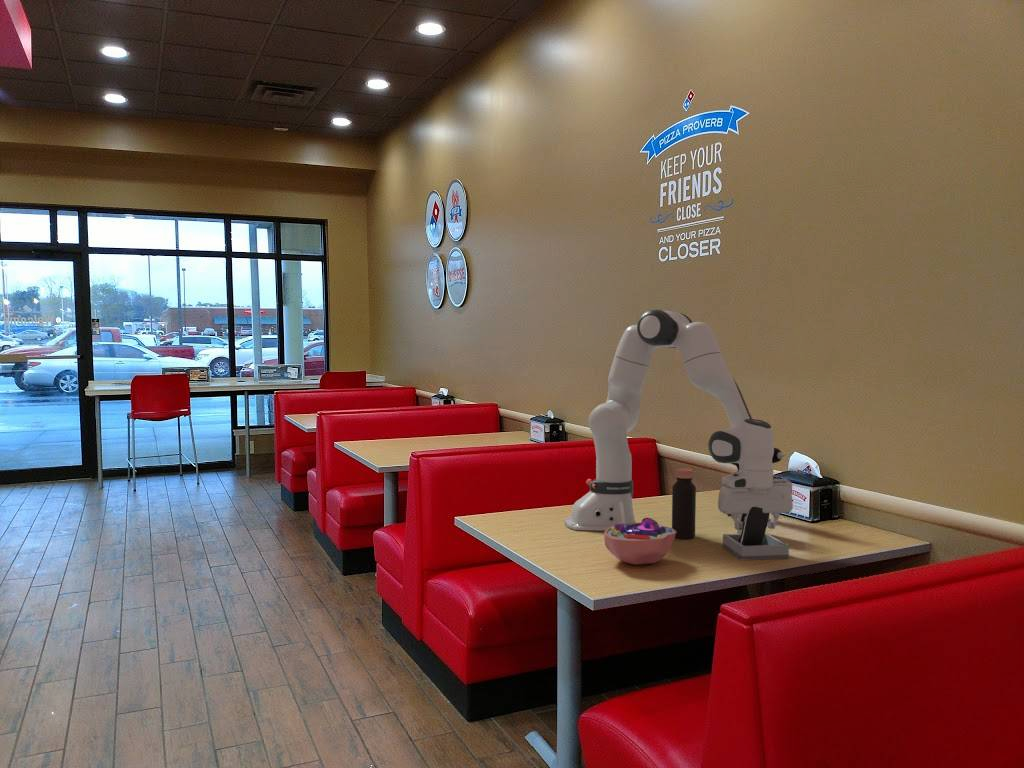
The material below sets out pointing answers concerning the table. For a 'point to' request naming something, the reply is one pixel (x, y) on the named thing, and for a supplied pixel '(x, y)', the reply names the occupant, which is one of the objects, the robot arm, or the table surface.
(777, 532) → the table surface
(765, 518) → the battery charger
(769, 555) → the tray
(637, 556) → the cell model
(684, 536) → the bottle
